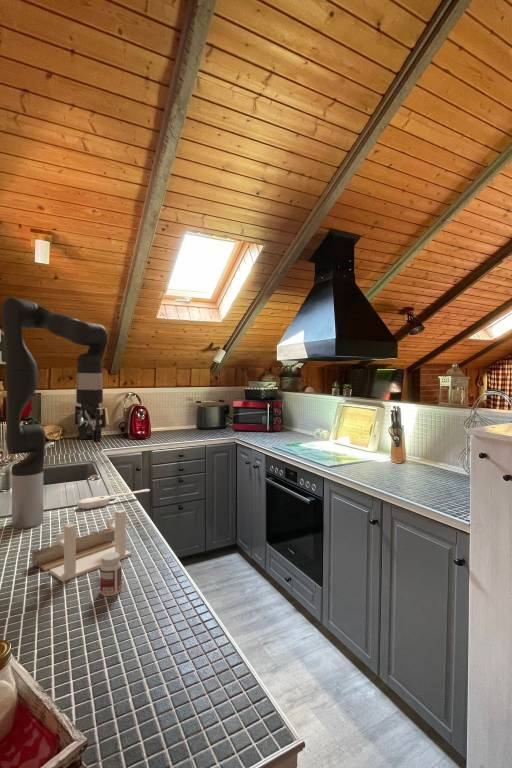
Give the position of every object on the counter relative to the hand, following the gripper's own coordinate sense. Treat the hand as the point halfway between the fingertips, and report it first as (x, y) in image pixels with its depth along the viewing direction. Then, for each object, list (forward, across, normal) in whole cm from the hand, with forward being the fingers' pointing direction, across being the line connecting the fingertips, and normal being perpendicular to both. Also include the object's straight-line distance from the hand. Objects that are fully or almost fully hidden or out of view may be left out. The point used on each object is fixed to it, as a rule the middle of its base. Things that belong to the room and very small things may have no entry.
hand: (89, 440), depth 123 cm
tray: (+30, +8, -8) cm, 32 cm away
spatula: (+30, -24, +23) cm, 45 cm away
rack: (+30, +17, -8) cm, 35 cm away
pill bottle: (+30, +33, -12) cm, 46 cm away
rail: (+30, +8, -8) cm, 32 cm away
